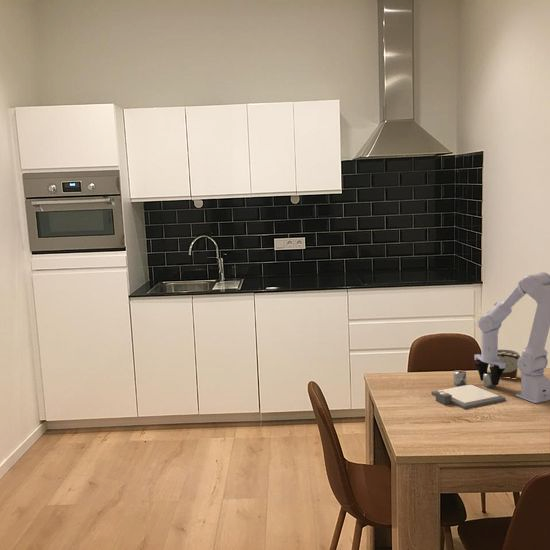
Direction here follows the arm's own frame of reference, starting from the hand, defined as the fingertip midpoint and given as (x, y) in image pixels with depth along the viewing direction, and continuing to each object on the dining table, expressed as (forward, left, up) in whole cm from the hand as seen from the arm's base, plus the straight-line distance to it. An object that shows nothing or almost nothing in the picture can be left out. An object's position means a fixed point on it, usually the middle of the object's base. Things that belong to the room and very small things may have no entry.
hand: (489, 382), depth 234 cm
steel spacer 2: (0, 0, -2) cm, 2 cm away
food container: (+7, -14, -2) cm, 16 cm away
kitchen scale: (-6, +16, -1) cm, 18 cm away
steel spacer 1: (+7, +8, -2) cm, 11 cm away
